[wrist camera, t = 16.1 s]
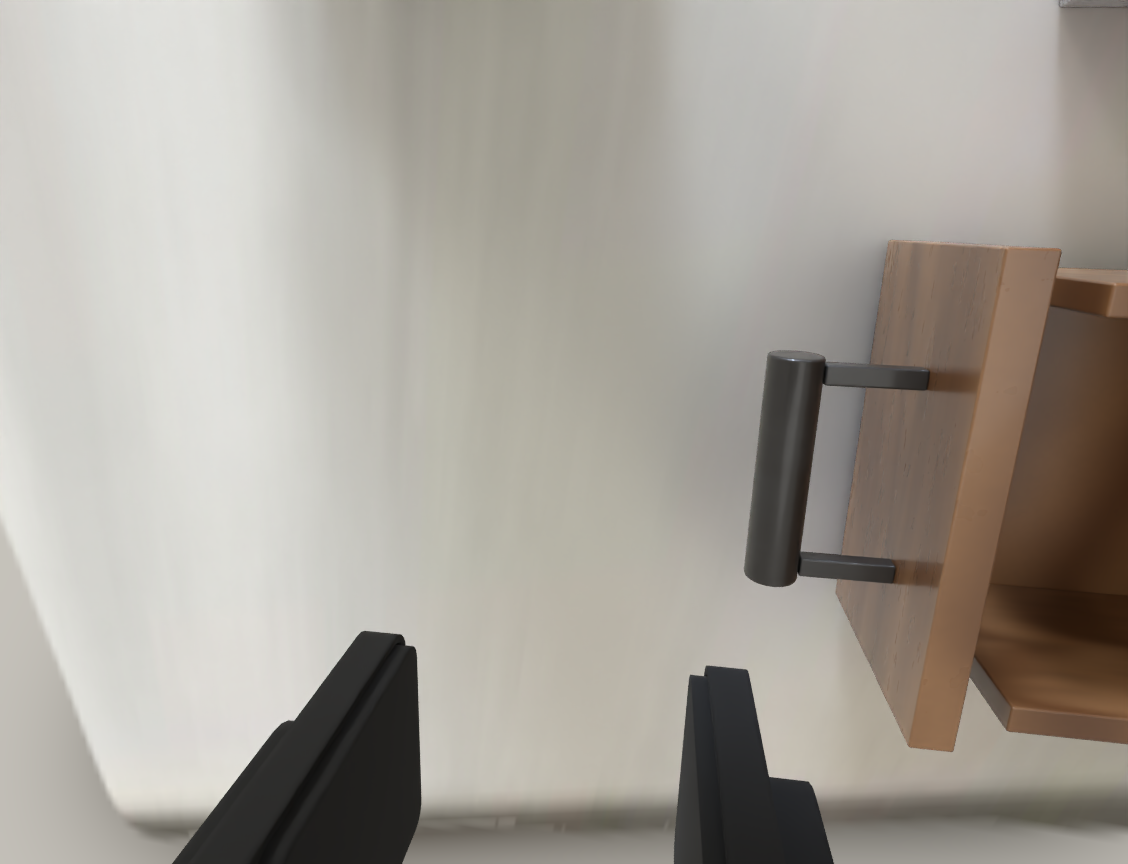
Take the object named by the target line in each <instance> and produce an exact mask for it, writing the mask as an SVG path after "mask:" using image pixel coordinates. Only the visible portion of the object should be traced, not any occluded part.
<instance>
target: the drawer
mask: <svg viewBox="0 0 1128 864" xmlns="http://www.w3.org/2000/svg"><path fill="white" fill-rule="evenodd" d="M1060 257H1061V249H1057V248H1039V247H1021V246H1003V245H985V244H967V243H949V242H931V241H904V240H890V241H889V242H888V248H887V254H886V261H885V268H884V274H883V281H882V288H881V294H880V301H879V307H878V314H877V321H876V327H875V334H874V341H873V347H872V354H871V360H870V364H858V363H839V362H826V359H825V357H823V356H821V355H819V354H815V353H810V352H803V351H787V350H783V351H773V352H770V353H769V354H768V356H767V365H766V374H765V383H764V392H763V401H762V410H761V419H760V428H759V437H758V446H757V455H756V464H755V474H754V483H753V492H752V501H751V510H750V519H749V528H748V537H747V546H746V555H745V564H744V572H745V575H746V576H747V577H748V578H749V579H751V580H752V581H754V582H756V583H759V584H762V585H766V586H772V587H784V586H789V585H791V584H793V583H794V582H795V581H796V579H797V572H798V574H799V576H807V577H818V578H830V579H837V586H836V595H837V597H838V599H839V601H840V603H841V605H842V607H843V609H844V612H845V614H846V616H847V618H848V620H849V622H850V624H851V626H852V628H853V631H854V633H855V635H856V637H857V639H858V641H859V643H860V645H861V647H862V649H863V652H864V654H865V656H866V658H867V660H868V662H869V664H870V666H871V668H872V671H873V673H874V675H875V677H876V679H877V681H878V683H879V685H880V687H881V690H882V692H883V694H884V696H885V698H886V700H887V702H888V704H889V706H890V709H891V711H892V713H893V715H894V717H895V719H896V721H897V723H898V725H899V727H900V730H901V732H902V734H903V736H904V738H905V740H906V742H907V744H908V746H909V747H911V748H920V749H929V750H938V751H947V752H953V750H954V746H955V741H956V737H957V732H958V727H959V723H960V718H961V713H962V709H963V704H964V700H965V695H966V690H967V686H968V681H969V677H970V678H971V679H972V681H973V682H974V684H975V685H976V687H977V688H978V690H979V691H980V693H981V694H982V696H983V697H984V698H985V700H986V701H987V703H988V704H989V706H990V707H991V709H992V710H993V712H994V713H995V715H996V716H997V717H998V719H999V720H1000V722H1001V723H1002V725H1003V726H1004V728H1005V729H1006V730H1007V731H1009V732H1018V733H1027V734H1037V735H1046V736H1055V737H1065V738H1074V739H1083V740H1093V741H1102V742H1112V743H1121V744H1128V270H1112V269H1084V268H1058V266H1059V262H1060ZM823 384H824V385H827V386H845V387H863V388H866V394H865V400H864V407H863V413H862V420H861V427H860V433H859V440H858V447H857V453H856V460H855V467H854V473H853V480H852V486H851V493H850V500H849V506H848V513H847V520H846V526H845V533H844V539H843V546H842V553H841V555H837V554H825V553H813V552H801V551H800V550H801V542H802V535H803V527H804V520H805V512H806V505H807V497H808V490H809V482H810V475H811V467H812V460H813V452H814V445H815V437H816V430H817V422H818V415H819V407H820V400H821V392H822V385H823Z"/></svg>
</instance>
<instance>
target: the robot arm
mask: <svg viewBox="0 0 1128 864" xmlns="http://www.w3.org/2000/svg"><path fill="white" fill-rule="evenodd" d="M420 810H421V772H420V740H419V708H418V677H417V653H416V649H415V647H413V646H405V640H404V637H403V636H402V635H400V634H390V633H380V632H370V631H363V632H361V633H360V634H359V635H358V636H357V637H356V639H355V640H354V641H353V643H352V644H351V645H350V647H349V648H348V649H347V651H346V652H345V654H344V655H343V656H342V658H341V659H340V660H339V662H338V663H337V664H336V666H335V667H334V668H333V670H332V671H331V672H330V674H329V675H328V676H327V678H326V679H325V680H324V682H323V683H322V684H321V686H320V687H319V688H318V690H317V691H316V693H315V694H314V695H313V697H312V698H311V699H310V701H309V702H308V703H307V705H306V706H305V707H304V709H303V710H302V711H301V713H300V714H299V715H298V717H297V718H296V719H295V721H290V720H289V721H286V722H284V723H282V724H281V725H280V726H279V727H278V728H277V729H276V730H275V731H274V732H273V733H272V734H271V736H270V737H269V738H268V740H267V741H266V742H265V744H264V745H263V746H262V747H261V749H260V750H259V751H258V753H257V754H256V755H255V757H254V758H253V759H252V760H251V762H250V763H249V764H248V766H247V767H246V768H245V770H244V771H243V772H242V773H241V775H240V776H239V777H238V779H237V780H236V781H235V783H234V784H233V785H232V786H231V788H230V789H229V790H228V792H227V793H226V794H225V796H224V797H223V798H222V799H221V801H220V802H219V803H218V805H217V806H216V807H215V809H214V810H213V811H212V812H211V814H210V815H209V816H208V818H207V819H206V820H205V822H204V823H203V824H202V825H201V827H200V828H199V829H198V831H197V832H196V833H195V835H194V836H193V837H192V838H191V840H190V841H189V842H188V844H187V845H186V846H185V848H184V849H183V850H182V851H181V853H180V854H179V856H178V857H177V858H176V859H175V861H174V862H173V863H172V864H402V862H403V860H404V857H405V855H406V852H407V850H408V847H409V845H410V843H411V840H412V838H413V835H414V833H415V830H416V827H417V824H418V820H419V816H420ZM674 864H834V863H833V859H832V855H831V851H830V848H829V844H828V840H827V836H826V833H825V829H824V825H823V822H822V818H821V814H820V811H819V807H818V803H817V799H816V796H815V793H814V790H813V788H812V786H811V784H810V783H809V782H806V781H798V780H789V779H781V778H773V777H769V775H768V770H767V765H766V760H765V755H764V750H763V744H762V739H761V734H760V729H759V724H758V719H757V714H756V708H755V703H754V698H753V693H752V688H751V683H750V678H749V673H748V671H747V670H746V669H736V668H726V667H716V666H706V667H705V672H704V676H695V675H690V677H689V685H688V696H687V707H686V718H685V729H684V740H683V751H682V762H681V773H680V784H679V795H678V806H677V817H676V828H675V842H674Z"/></svg>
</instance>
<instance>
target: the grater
mask: <svg viewBox="0 0 1128 864" xmlns="http://www.w3.org/2000/svg"><path fill="white" fill-rule="evenodd" d="M1059 6H1060V7H1128V0H1060V4H1059Z"/></svg>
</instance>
